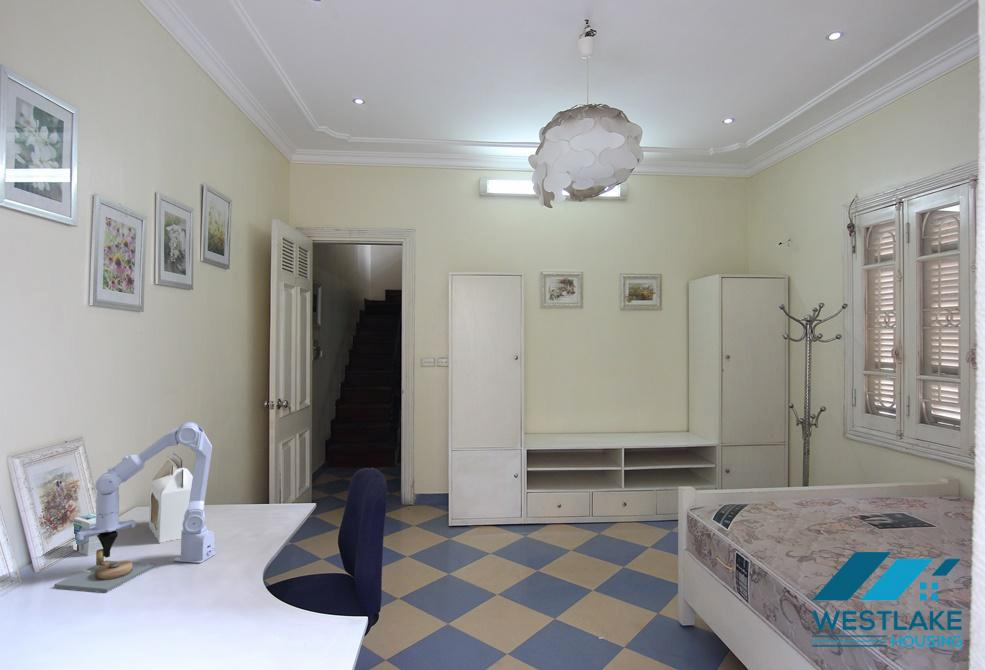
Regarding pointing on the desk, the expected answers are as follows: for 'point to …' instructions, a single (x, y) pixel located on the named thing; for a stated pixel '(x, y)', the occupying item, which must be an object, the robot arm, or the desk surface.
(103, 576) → the dial
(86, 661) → the desk surface
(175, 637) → the desk surface
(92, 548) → the light bulb box
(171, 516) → the gable box
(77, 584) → the base plate
